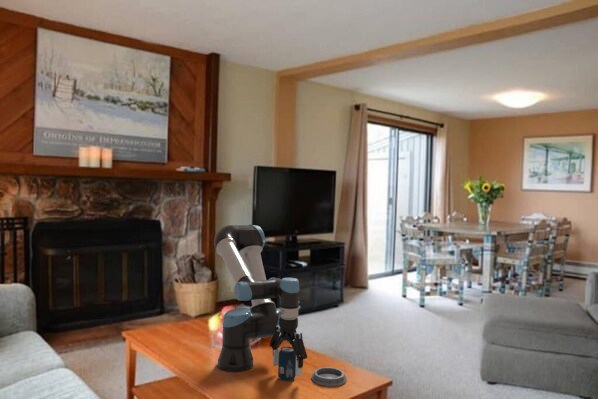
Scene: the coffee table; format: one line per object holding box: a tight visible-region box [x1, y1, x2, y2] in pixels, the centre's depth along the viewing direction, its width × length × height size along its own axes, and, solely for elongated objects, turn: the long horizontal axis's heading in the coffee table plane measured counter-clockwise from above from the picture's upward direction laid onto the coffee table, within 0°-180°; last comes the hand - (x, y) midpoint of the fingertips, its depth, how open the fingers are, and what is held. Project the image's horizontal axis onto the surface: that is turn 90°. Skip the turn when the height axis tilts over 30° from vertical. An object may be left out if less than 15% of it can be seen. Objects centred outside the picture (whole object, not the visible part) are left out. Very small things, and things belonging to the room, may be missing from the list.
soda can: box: [277, 346, 297, 382], centre depth 191 cm, size 7×7×12 cm
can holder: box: [311, 366, 348, 388], centre depth 192 cm, size 14×14×3 cm
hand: (287, 370), depth 191 cm, fingers open, 13 cm apart
